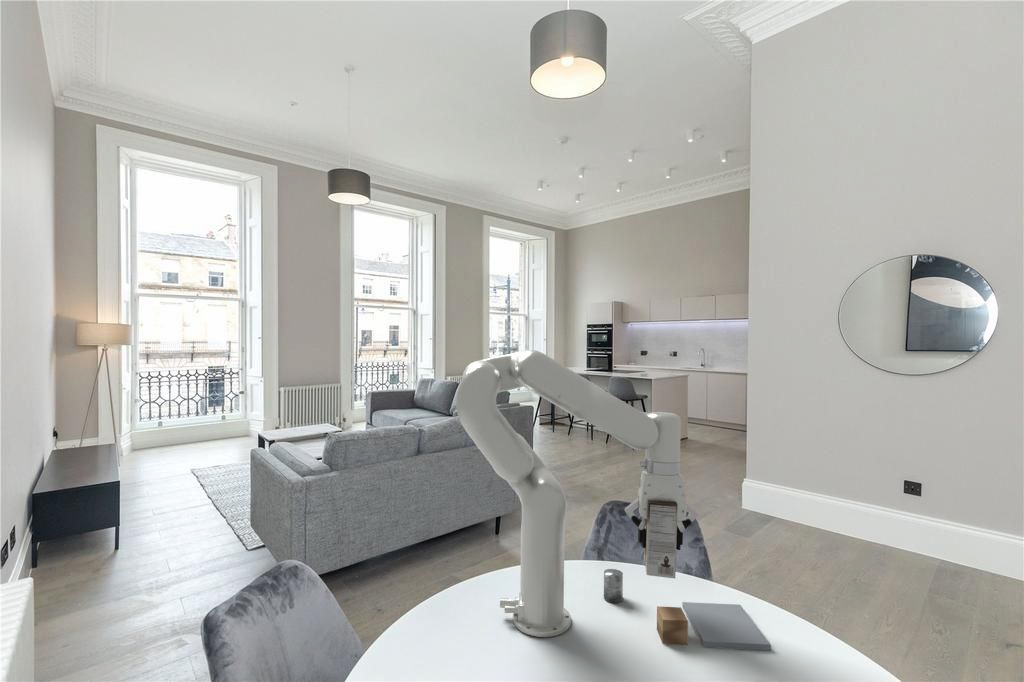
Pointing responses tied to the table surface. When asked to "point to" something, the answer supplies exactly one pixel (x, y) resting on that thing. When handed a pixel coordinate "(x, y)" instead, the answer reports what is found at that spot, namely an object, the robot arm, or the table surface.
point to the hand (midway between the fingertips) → (659, 546)
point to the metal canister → (613, 585)
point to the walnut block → (672, 625)
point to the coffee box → (661, 539)
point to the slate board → (725, 626)
